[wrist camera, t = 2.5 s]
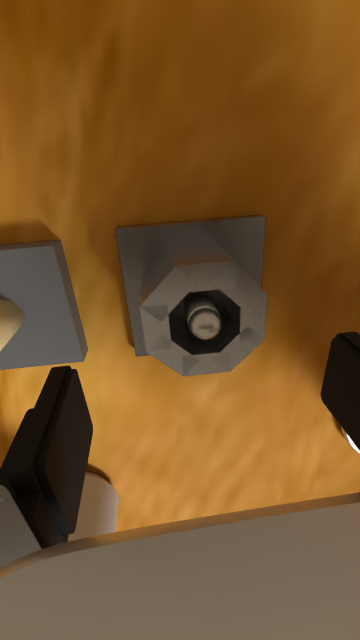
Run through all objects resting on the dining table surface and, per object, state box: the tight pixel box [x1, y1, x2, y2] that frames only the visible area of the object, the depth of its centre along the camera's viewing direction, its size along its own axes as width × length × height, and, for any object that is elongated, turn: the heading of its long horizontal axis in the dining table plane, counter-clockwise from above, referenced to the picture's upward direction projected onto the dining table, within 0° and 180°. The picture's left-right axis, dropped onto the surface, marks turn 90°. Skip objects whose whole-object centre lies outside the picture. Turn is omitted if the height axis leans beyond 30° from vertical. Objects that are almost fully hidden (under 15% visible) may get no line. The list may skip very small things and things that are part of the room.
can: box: [68, 472, 119, 542], centre depth 24 cm, size 8×8×12 cm
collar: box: [140, 241, 268, 376], centre depth 18 cm, size 7×7×4 cm
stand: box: [115, 215, 266, 356], centre depth 18 cm, size 9×9×6 cm
